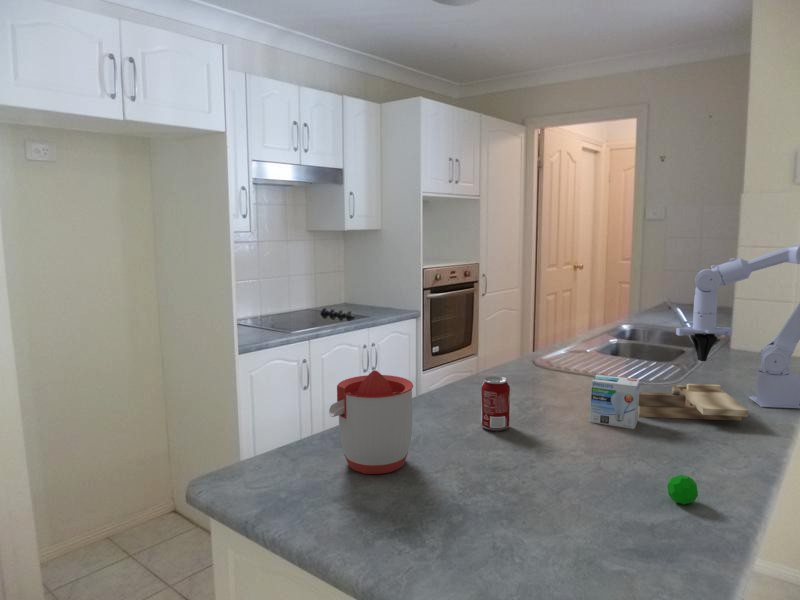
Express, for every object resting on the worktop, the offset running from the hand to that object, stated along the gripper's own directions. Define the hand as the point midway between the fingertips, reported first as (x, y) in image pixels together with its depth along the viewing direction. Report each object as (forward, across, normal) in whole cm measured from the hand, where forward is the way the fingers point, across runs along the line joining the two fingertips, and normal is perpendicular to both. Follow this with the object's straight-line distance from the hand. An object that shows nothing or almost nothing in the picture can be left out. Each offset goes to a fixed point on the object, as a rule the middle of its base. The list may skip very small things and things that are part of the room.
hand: (701, 360), depth 164 cm
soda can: (+10, -62, -24) cm, 67 cm away
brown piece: (+10, -11, -10) cm, 18 cm away
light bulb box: (+10, -32, -21) cm, 40 cm away
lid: (+7, -6, -18) cm, 20 cm away
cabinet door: (+7, -19, -17) cm, 26 cm away
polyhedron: (+10, -35, -62) cm, 72 cm away
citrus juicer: (+10, -91, -45) cm, 102 cm away
